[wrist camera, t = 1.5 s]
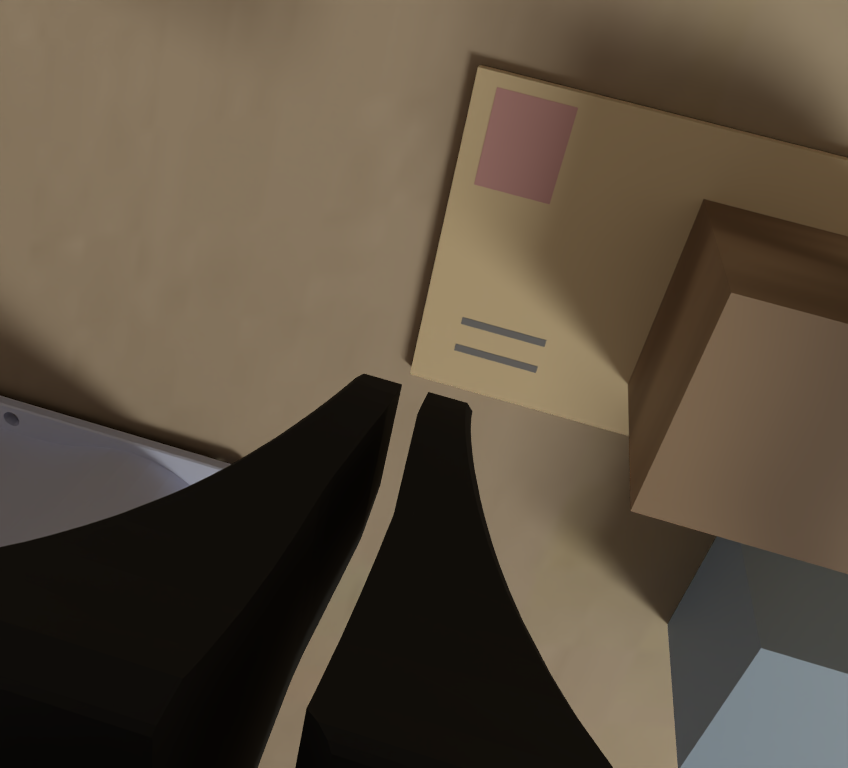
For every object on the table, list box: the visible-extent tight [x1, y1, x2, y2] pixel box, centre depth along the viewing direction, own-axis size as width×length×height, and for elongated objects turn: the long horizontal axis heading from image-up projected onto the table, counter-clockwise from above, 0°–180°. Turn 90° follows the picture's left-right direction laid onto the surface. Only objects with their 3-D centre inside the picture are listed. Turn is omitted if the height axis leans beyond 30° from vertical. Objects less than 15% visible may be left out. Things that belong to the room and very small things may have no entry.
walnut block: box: [628, 199, 848, 574], centre depth 16 cm, size 5×5×5 cm
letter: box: [410, 65, 848, 436], centre depth 19 cm, size 12×8×1 cm, turn 79°
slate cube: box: [668, 536, 848, 768], centre depth 21 cm, size 5×5×5 cm
